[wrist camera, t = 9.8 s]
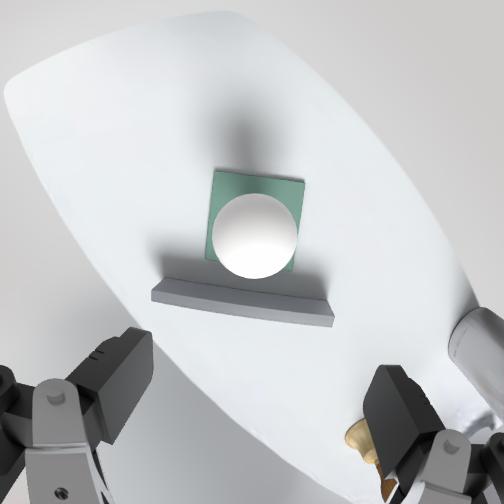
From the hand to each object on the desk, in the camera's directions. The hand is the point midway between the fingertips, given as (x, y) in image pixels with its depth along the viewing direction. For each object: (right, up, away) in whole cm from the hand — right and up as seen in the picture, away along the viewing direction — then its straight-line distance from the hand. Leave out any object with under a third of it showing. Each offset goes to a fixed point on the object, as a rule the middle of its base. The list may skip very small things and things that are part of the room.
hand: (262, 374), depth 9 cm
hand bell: (+18, -24, +26) cm, 40 cm away
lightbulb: (0, +7, +20) cm, 21 cm away
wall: (-1, -1, +22) cm, 22 cm away
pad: (0, +7, +20) cm, 21 cm away
